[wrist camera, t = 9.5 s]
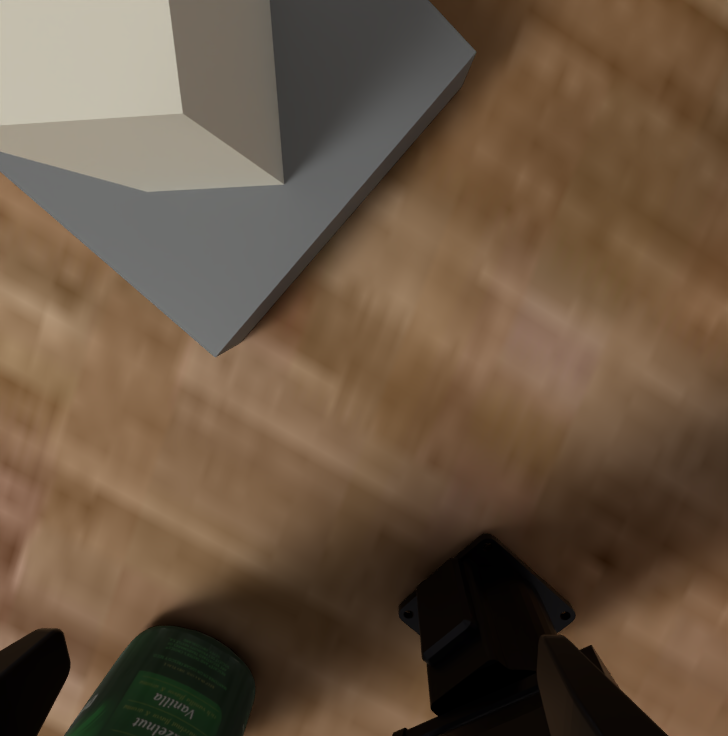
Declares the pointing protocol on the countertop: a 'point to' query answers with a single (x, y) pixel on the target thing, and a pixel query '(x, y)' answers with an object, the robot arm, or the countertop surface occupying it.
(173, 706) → the coffee jar
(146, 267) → the podium
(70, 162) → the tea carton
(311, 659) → the countertop surface
